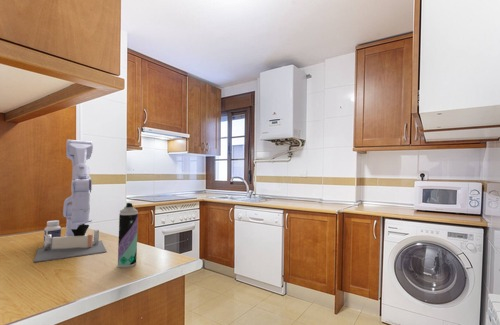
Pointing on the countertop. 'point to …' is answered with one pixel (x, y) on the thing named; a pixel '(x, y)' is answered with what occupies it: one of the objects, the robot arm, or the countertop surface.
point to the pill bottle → (52, 229)
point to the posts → (49, 238)
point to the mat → (68, 252)
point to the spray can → (127, 236)
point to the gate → (72, 241)
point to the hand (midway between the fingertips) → (79, 244)
